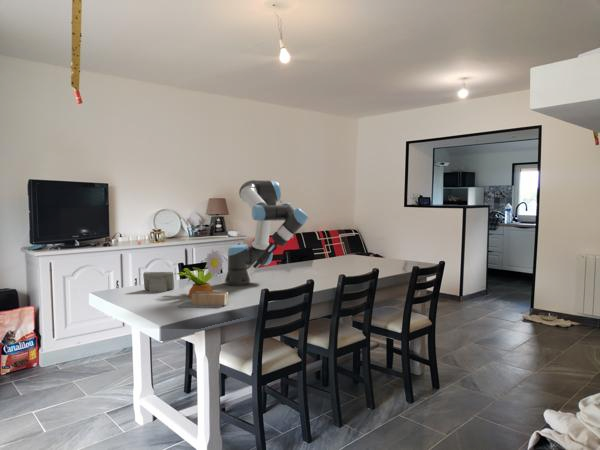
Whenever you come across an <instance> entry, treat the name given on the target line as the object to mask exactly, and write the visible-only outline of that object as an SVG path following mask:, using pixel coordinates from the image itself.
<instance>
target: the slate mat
mask: <svg viewBox="0 0 600 450" xmlns="http://www.w3.org/2000/svg"><path fill="white" fill-rule="evenodd" d="M223 306H224V305H192V299H185V300H184V301H183V302H181V303H180V304H179V305H178V306H177V308H200V307H203V308H207V309H208V308H210V309H211V308H213V309H217V308H218V309H221V308H222V307H223Z"/></svg>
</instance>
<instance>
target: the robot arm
mask: <svg viewBox="0 0 600 450" xmlns="http://www.w3.org/2000/svg"><path fill="white" fill-rule="evenodd" d="M281 191H282V190H281V187H280V183H279V182H278V181H275V180H254V179H251V180H247V181H246V182H244V183H243V184H242V185H241V186H240V188H239V191H238V194H239V198H240V199H241V201H243V202H245V203H246V204H247V205H248V206H249V207H250V209H251V216H252V217H251V218H252V219H253V221H256V225H255V234H254V240H253V241H252V242H251V245H250V246H249V245H248V244H246V243H244V244H234V245H231V246H229V247H228V249H227V273H226V275H225V279H224V284H225V285H226V286H232V287H233V286H234V287H235V286H237V287H238V286H240V287H241V286H248V285H250V284H251V278H250V276H249V273H250V274H253V273H254V272H255V271H256V270H257V269H258V268H259V267H260V266H263V267H264V266H268V265H269V264H270V263H271V262H272V261H273V257H274V254H273V253H274V251H276V250H277V249H278V246H279V247H282V248H283V247H284V246H285V245H286V244H287V243H288V241H290V240H291V239H294V235H296V233H297V232H298V231H299V230H300V229H301V228H302V227H303V225H305V223H306V221H308V219H309V215H308V214H306V212H305V211H303V209H301V208H300V207H297V208H296V207H295V206H294V205H292V204H291V203H289V202H283V203H282V204H281V205H280V204H279V205H277V203H278V202H280V201H281V198H282V197H281V196H282V192H281ZM272 221H276V222H278V221H282V222H283V223H281V225H280V226H279V227H278V228H277V230H276V231H275V232H273V234H272V235H271V239H272V241H273V242H272V241H270V243H269V240H270V233H271V226H272ZM248 267H249V268H248Z"/></svg>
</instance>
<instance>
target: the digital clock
mask: <svg viewBox="0 0 600 450" xmlns="http://www.w3.org/2000/svg"><path fill="white" fill-rule="evenodd" d="M142 275H143V277H142V278H143V286H144V287H143V288H144V290H145V291H149V293H166V292H167V291H170V290H174V289H175V278H174V275H175V274H174V272H173V271H145V272H143V273H142Z"/></svg>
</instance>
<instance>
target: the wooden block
mask: <svg viewBox="0 0 600 450" xmlns="http://www.w3.org/2000/svg"><path fill="white" fill-rule="evenodd" d="M191 300H192V305H223V306H226V305H227V304H228V302H229V292H228V291H213V292H212V291H195V292H194V293H193V294H192V297H191Z"/></svg>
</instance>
